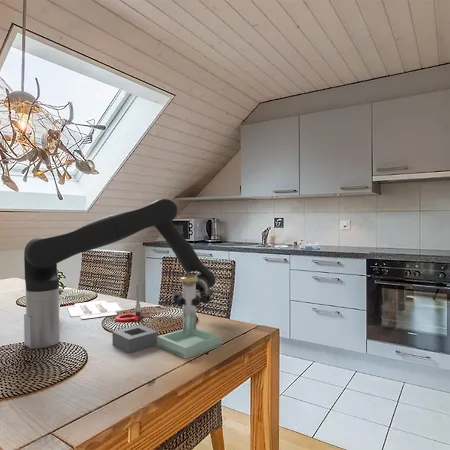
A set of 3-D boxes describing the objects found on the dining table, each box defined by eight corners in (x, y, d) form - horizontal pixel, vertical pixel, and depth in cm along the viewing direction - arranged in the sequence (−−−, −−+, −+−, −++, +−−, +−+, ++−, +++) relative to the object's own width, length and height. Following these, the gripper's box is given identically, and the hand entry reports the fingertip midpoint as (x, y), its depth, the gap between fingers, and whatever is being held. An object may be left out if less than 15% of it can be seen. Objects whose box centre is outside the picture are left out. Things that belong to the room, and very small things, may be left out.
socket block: (129, 353, 105) (128, 339, 105) (112, 344, 112) (112, 331, 112) (157, 344, 112) (157, 331, 112) (140, 336, 119) (140, 324, 119)
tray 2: (72, 322, 137) (72, 313, 137) (65, 309, 161) (65, 300, 161) (126, 315, 147) (126, 306, 147) (112, 303, 171) (112, 296, 171)
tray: (185, 358, 100) (185, 348, 100) (157, 346, 110) (156, 336, 110) (221, 346, 110) (221, 336, 110) (192, 335, 120) (192, 326, 120)
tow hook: (111, 323, 136) (137, 322, 135) (109, 286, 136) (135, 285, 135) (119, 316, 145) (144, 315, 144) (117, 282, 145) (142, 281, 144)
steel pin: (188, 337, 107) (187, 279, 106) (177, 333, 110) (177, 277, 110) (201, 333, 110) (201, 277, 110) (190, 329, 114) (190, 275, 113)
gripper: (175, 279, 125) (164, 290, 107) (216, 279, 124) (211, 290, 107) (175, 301, 125) (164, 315, 108) (216, 301, 124) (211, 315, 107)
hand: (187, 303), depth 107 cm, fingers closed on steel pin, 4 cm apart
